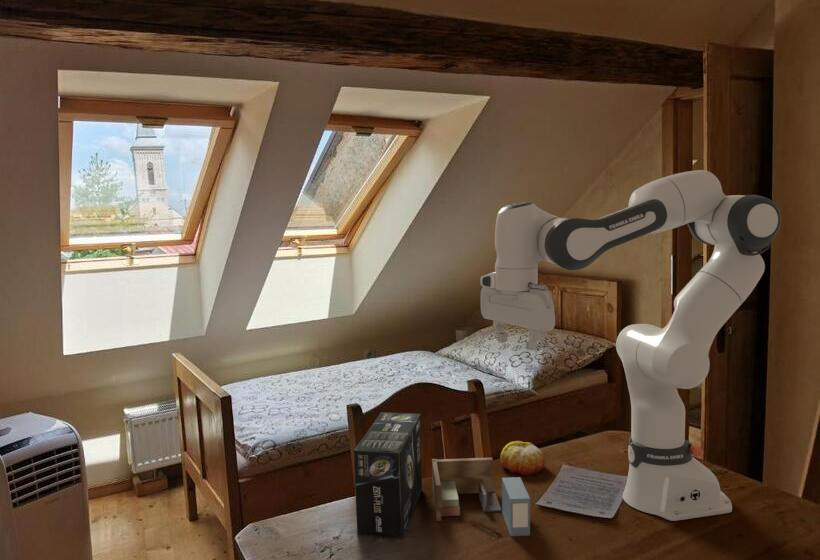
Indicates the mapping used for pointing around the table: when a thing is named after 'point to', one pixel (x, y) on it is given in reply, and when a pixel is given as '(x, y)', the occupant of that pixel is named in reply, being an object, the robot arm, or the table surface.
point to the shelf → (458, 482)
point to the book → (516, 506)
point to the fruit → (522, 458)
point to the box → (388, 475)
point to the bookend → (488, 499)
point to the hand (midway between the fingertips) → (516, 345)
